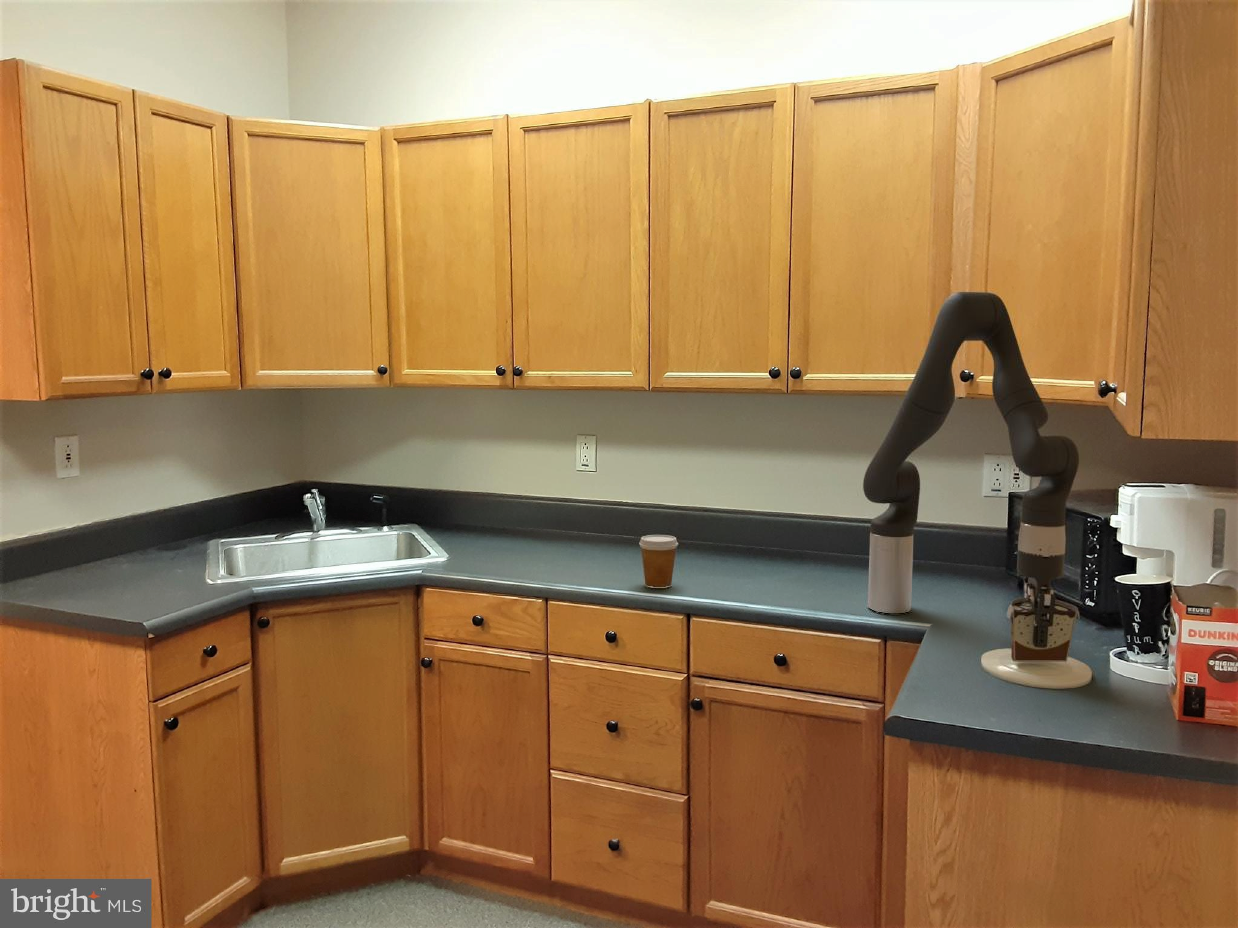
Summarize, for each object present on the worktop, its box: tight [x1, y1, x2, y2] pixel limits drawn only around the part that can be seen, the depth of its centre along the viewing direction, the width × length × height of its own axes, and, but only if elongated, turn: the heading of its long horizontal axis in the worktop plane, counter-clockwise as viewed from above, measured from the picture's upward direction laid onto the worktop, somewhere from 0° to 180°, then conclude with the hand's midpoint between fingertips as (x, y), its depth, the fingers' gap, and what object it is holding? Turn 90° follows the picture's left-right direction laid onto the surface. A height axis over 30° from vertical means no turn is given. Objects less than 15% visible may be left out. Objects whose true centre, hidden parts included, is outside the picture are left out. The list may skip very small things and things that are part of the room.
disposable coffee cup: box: [638, 534, 679, 587], centre depth 223 cm, size 10×10×12 cm
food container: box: [1006, 596, 1081, 662], centre depth 163 cm, size 12×6×10 cm, turn 90°
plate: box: [980, 648, 1093, 690], centre depth 163 cm, size 18×18×1 cm
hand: (1035, 641), depth 163 cm, fingers closed on food container, 5 cm apart
